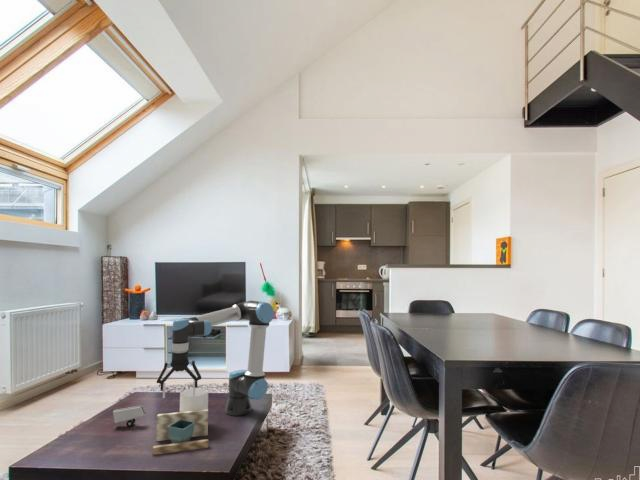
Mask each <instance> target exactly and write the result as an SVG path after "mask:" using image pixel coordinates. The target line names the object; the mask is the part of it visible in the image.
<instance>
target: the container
mask: <svg viewBox="0 0 640 480" xmlns="http://www.w3.org/2000/svg"><path fill="white" fill-rule="evenodd" d="M204 409H208V410H209V389H207V388H204V387H197V388H195V395H193V387H191V388H187V389H185V390H184V389H183V390H182V391H181V392H179V412H185V411H195V410H204Z"/></svg>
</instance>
